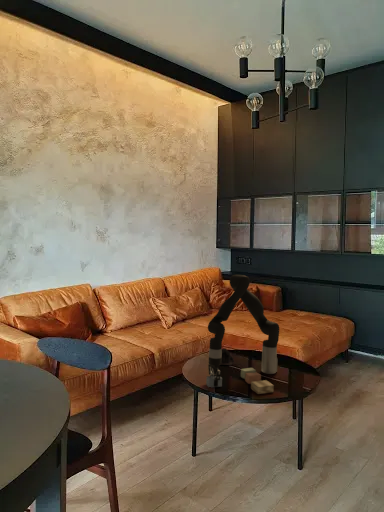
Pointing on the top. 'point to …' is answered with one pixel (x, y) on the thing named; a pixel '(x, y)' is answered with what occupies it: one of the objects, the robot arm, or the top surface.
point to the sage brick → (247, 370)
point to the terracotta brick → (252, 377)
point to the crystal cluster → (226, 358)
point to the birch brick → (262, 386)
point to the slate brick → (211, 381)
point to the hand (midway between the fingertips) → (214, 384)
